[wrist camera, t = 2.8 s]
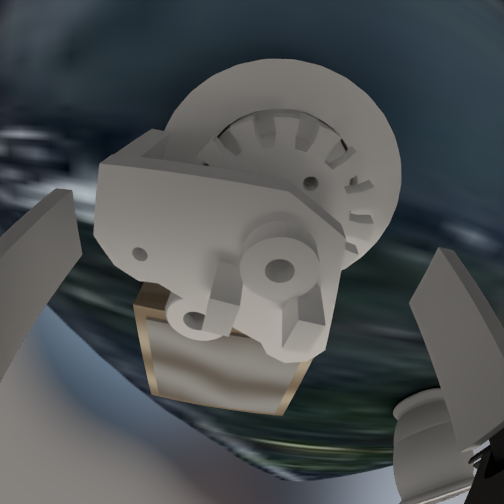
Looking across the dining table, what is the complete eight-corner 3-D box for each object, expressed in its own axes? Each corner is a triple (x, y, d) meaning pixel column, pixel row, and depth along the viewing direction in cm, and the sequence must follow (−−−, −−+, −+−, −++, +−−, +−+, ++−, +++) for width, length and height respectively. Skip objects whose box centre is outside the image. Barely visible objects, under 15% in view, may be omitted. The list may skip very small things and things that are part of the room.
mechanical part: (404, 148, 16) (522, 269, 7) (277, 269, 22) (273, 426, 13) (258, 19, 13) (224, -57, 3) (142, 176, 19) (35, 305, 9)
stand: (145, 278, 24) (131, 307, 21) (320, 306, 24) (324, 338, 21) (158, 372, 32) (150, 396, 29) (282, 392, 32) (282, 417, 29)
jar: (370, 416, 36) (380, 516, 24) (422, 377, 30) (447, 493, 18) (419, 420, 38) (433, 505, 25) (468, 385, 32) (493, 478, 20)
